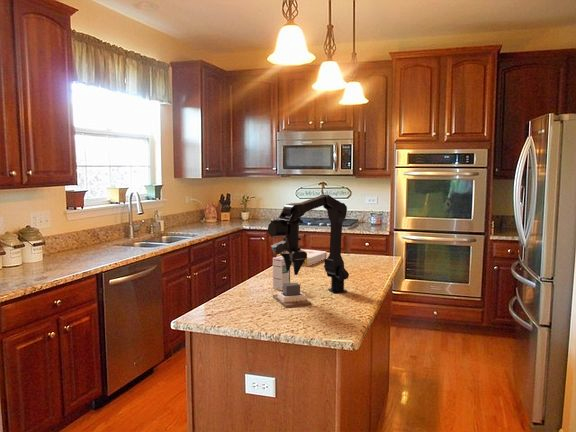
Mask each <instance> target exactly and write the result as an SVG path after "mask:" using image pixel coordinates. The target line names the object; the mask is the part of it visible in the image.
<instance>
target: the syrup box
mask: <svg viewBox="0 0 576 432" xmlns="http://www.w3.org/2000/svg"><path fill="white" fill-rule="evenodd" d="M288 283H291V269H290V270H286V266H285V262H284V259H283V257H282V256H280V257H277V256H276V257H272V289H275V290H278V291H283V284H288Z"/></svg>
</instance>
